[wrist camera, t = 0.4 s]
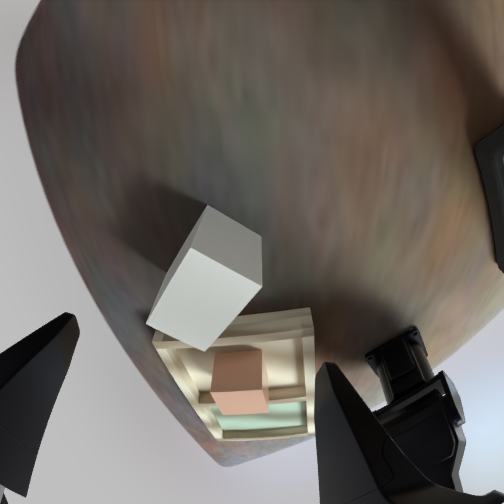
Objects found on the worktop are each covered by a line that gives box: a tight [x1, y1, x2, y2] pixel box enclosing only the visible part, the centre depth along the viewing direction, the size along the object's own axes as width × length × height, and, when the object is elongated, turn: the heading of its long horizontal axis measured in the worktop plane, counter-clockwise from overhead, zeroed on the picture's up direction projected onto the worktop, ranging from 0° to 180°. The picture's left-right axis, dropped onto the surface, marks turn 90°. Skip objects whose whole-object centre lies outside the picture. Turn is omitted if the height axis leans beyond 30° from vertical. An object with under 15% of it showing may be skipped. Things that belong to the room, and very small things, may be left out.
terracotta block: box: [210, 350, 269, 415], centre depth 26 cm, size 4×4×4 cm
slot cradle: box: [152, 307, 315, 441], centre depth 30 cm, size 23×14×2 cm, turn 10°
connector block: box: [146, 205, 262, 352], centre depth 20 cm, size 4×7×6 cm, turn 147°
